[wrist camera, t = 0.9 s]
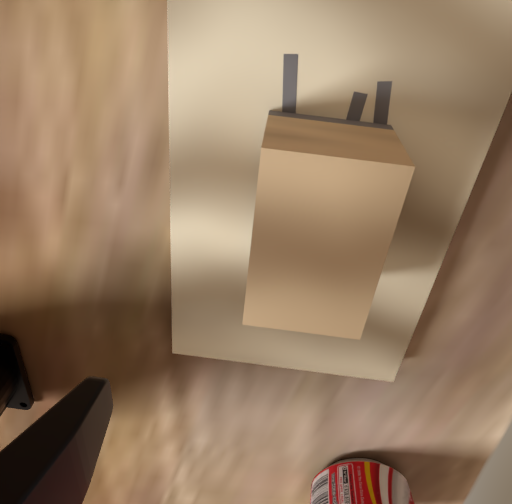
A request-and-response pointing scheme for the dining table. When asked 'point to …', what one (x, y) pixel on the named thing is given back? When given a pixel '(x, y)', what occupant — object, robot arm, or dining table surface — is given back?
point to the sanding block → (323, 222)
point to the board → (333, 106)
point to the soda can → (360, 484)
